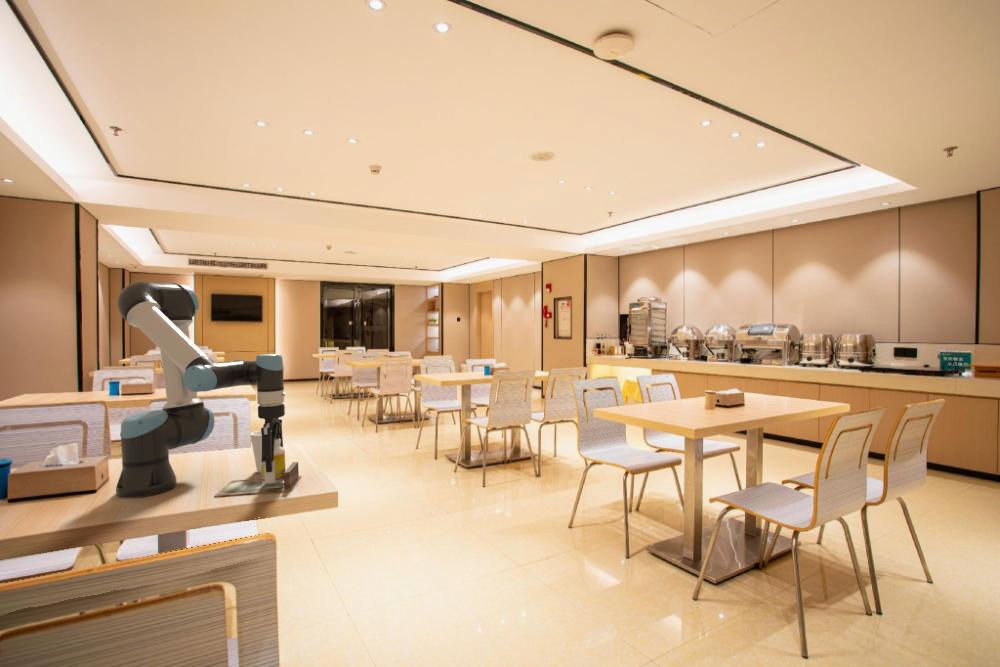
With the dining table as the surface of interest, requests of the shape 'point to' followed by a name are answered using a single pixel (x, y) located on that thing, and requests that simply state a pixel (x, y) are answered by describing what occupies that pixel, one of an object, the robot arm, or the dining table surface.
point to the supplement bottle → (276, 463)
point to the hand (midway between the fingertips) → (273, 478)
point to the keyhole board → (261, 484)
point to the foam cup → (257, 449)
